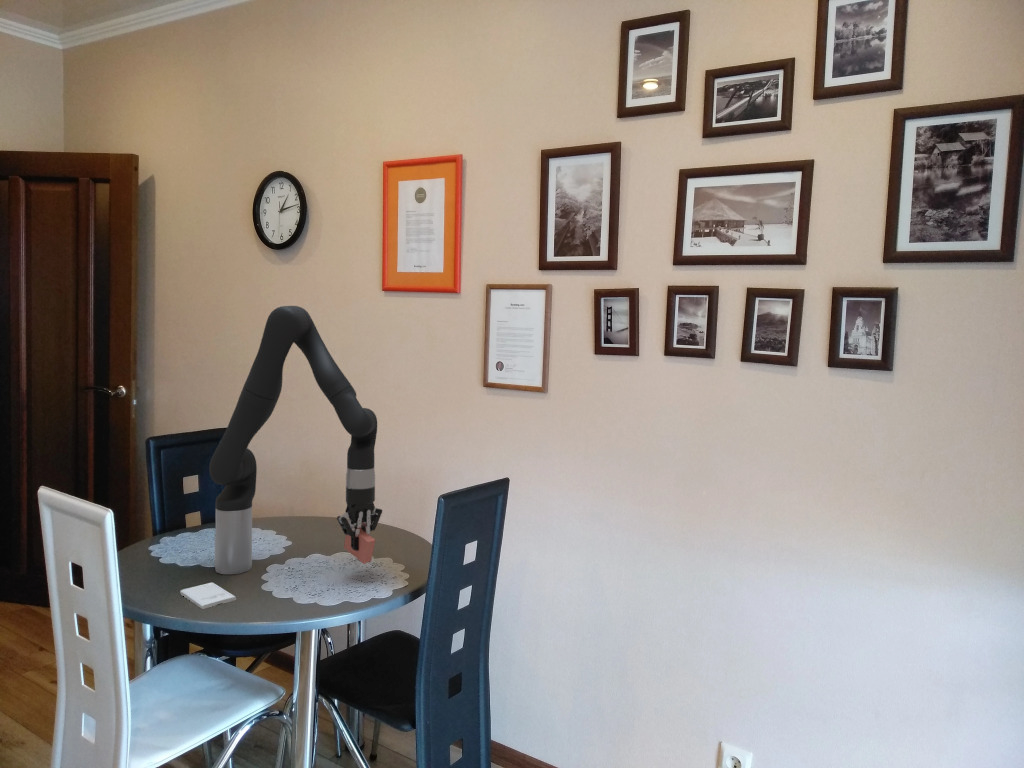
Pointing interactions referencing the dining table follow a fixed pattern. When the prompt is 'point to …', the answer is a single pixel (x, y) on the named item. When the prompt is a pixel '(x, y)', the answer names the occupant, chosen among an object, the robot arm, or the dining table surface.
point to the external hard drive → (207, 595)
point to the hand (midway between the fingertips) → (359, 548)
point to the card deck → (361, 547)
